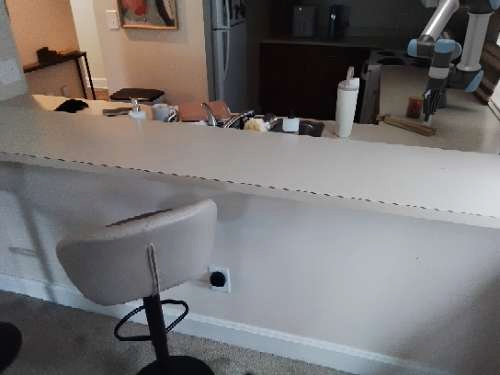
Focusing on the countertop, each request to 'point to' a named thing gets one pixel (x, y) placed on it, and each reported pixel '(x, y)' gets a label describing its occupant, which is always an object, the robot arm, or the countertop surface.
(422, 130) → the wooden kitchen tongs
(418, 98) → the mug
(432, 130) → the tongs jaw
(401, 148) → the countertop surface
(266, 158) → the countertop surface
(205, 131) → the countertop surface
